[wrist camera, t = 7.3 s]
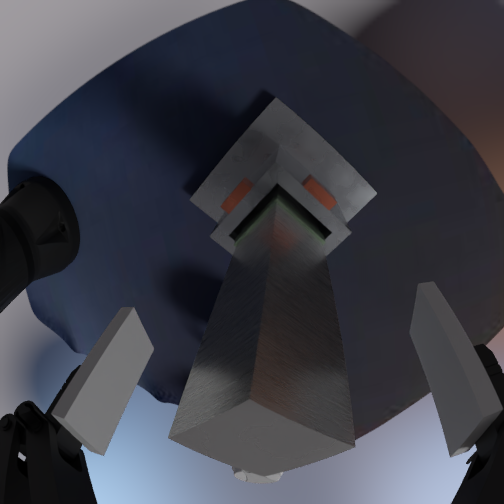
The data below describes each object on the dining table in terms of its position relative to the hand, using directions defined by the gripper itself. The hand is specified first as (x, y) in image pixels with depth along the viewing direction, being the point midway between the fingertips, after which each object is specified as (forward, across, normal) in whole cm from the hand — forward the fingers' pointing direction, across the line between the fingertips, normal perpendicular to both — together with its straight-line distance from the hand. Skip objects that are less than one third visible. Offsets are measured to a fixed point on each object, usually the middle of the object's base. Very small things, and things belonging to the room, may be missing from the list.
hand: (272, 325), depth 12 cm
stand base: (+21, 0, 0) cm, 21 cm away
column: (+13, 0, 0) cm, 13 cm away
